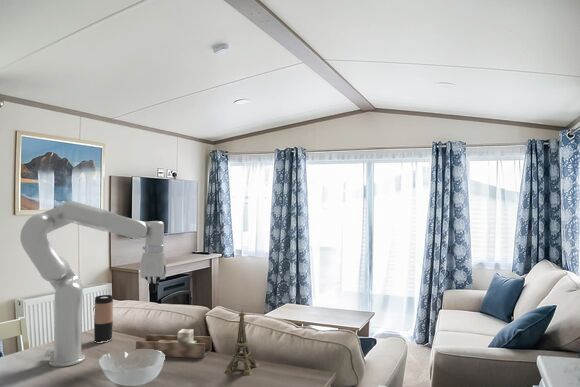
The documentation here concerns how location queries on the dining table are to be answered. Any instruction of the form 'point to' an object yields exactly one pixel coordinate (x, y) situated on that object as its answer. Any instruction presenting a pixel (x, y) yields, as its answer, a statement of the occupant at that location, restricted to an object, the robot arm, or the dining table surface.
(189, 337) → the block
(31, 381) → the dining table surface
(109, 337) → the travel mug
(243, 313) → the eiffel tower
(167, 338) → the box
